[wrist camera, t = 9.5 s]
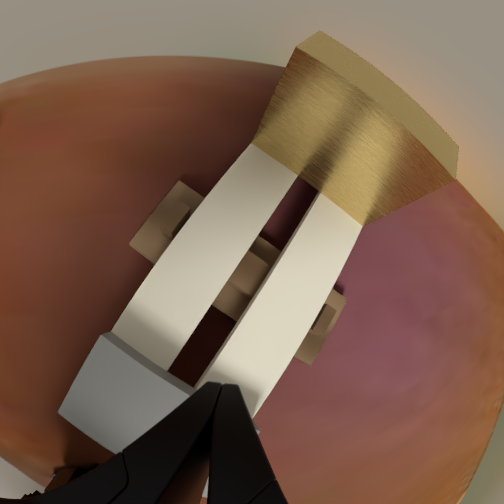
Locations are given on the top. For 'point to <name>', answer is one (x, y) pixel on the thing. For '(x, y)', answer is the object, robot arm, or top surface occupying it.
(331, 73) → the block
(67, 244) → the top surface
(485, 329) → the top surface
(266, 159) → the white twin rails
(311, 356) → the beam stand
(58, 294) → the top surface
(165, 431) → the robot arm
